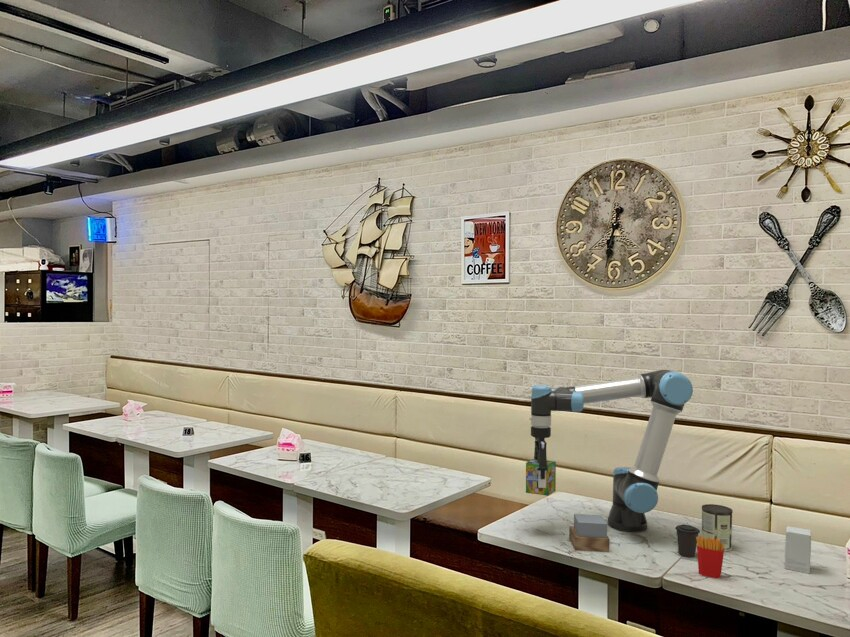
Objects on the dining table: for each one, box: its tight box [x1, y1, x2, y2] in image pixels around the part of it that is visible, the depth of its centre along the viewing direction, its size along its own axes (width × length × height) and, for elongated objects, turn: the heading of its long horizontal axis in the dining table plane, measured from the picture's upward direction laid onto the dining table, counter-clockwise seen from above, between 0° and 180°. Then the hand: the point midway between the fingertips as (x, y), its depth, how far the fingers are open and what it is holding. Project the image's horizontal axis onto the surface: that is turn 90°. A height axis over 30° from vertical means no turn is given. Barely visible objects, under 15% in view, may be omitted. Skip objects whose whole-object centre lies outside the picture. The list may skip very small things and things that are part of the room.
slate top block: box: [573, 513, 608, 538], centre depth 226 cm, size 10×10×5 cm
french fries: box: [696, 535, 725, 579], centre depth 202 cm, size 8×4×12 cm, turn 59°
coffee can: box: [700, 503, 733, 553], centre depth 228 cm, size 10×10×14 cm
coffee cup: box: [674, 523, 701, 559], centre depth 219 cm, size 8×8×10 cm
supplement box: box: [784, 525, 812, 574], centre depth 210 cm, size 7×7×13 cm
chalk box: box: [525, 454, 557, 497], centre depth 238 cm, size 9×9×15 cm
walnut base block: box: [568, 525, 611, 553], centre depth 226 cm, size 12×12×5 cm
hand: (539, 483), depth 238 cm, fingers closed on chalk box, 12 cm apart
